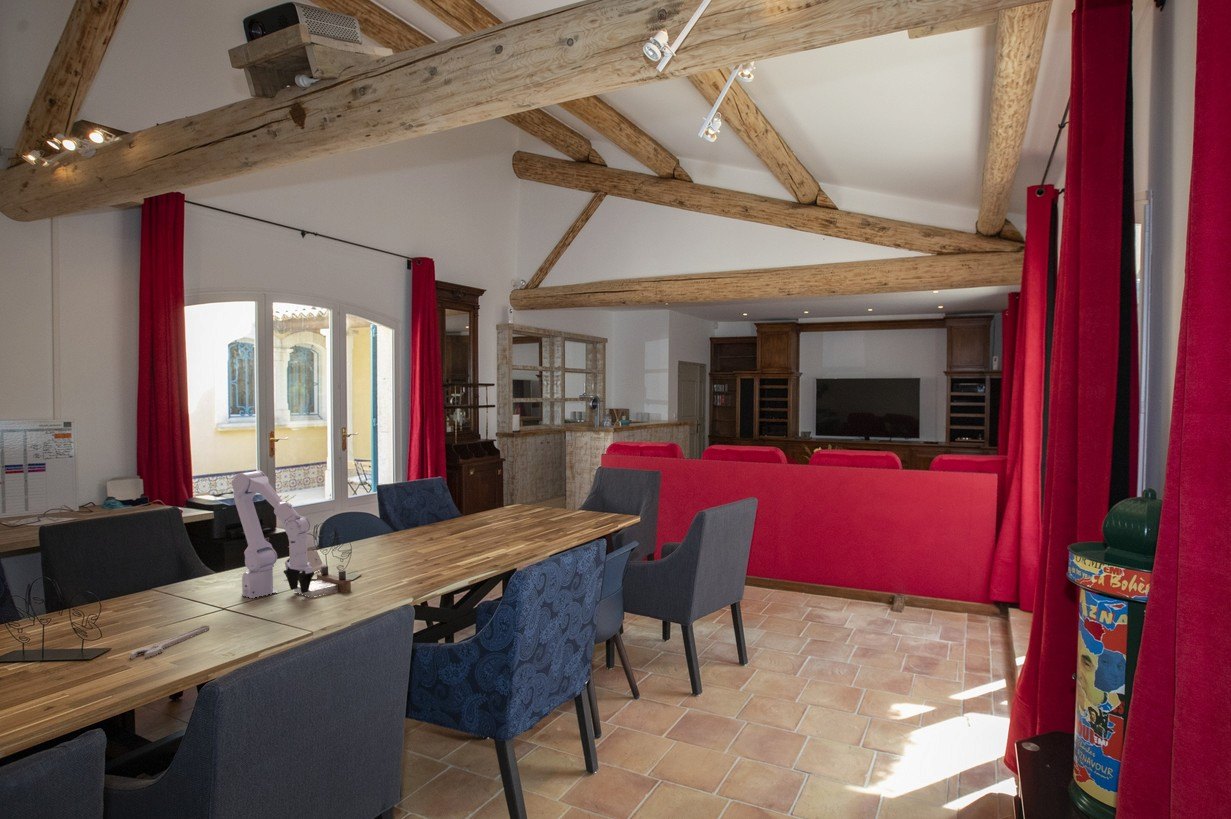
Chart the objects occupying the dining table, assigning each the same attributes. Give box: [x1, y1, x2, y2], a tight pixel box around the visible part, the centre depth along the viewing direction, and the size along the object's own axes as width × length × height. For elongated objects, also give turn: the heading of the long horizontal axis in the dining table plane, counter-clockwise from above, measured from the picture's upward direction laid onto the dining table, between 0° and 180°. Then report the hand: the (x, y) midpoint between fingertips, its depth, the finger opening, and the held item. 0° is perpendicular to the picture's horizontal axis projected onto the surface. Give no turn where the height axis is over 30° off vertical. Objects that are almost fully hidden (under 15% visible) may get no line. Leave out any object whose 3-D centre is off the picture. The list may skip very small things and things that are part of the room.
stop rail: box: [316, 565, 352, 593], centre depth 259 cm, size 3×18×7 cm, turn 52°
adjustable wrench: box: [130, 624, 210, 660], centre depth 202 cm, size 25×6×2 cm, turn 164°
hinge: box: [284, 549, 326, 573], centre depth 282 cm, size 17×5×10 cm, turn 164°
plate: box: [293, 580, 339, 598], centre depth 254 cm, size 10×12×3 cm
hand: (299, 590), depth 249 cm, fingers open, 7 cm apart
